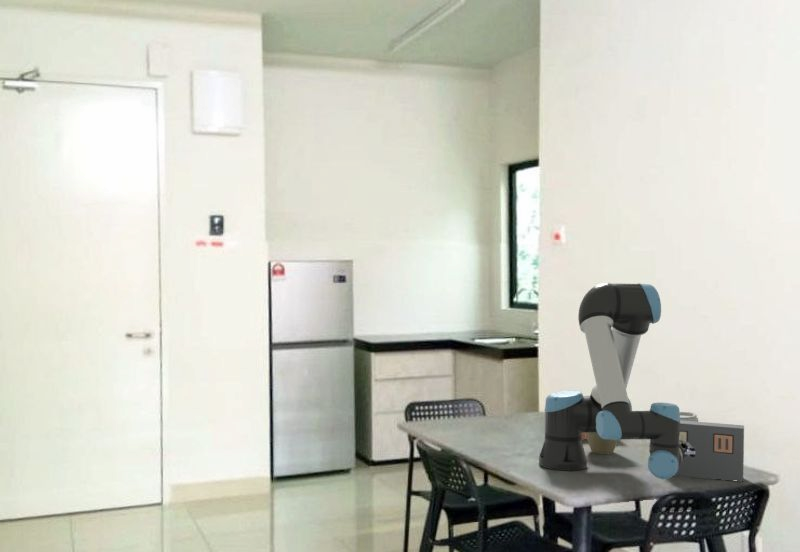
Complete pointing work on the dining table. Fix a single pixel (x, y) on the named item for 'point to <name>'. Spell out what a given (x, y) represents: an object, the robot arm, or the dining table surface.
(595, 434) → the plant pot
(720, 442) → the button two
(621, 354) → the robot arm
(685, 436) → the button one
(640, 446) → the dining table surface
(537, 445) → the dining table surface
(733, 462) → the button panel
